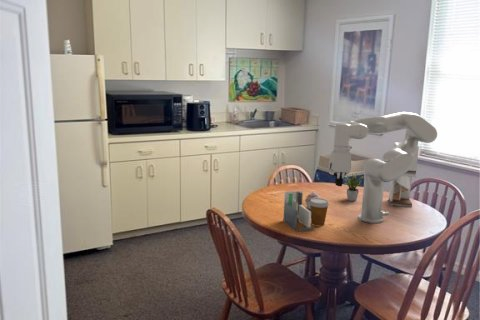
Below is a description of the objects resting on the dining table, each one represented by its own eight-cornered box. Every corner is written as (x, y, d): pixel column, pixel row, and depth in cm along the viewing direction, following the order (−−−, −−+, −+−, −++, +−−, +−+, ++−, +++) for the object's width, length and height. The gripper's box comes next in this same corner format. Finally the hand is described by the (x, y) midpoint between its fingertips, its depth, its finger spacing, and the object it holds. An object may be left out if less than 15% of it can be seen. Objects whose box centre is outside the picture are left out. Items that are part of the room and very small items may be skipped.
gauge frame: (300, 219, 207) (302, 190, 204) (314, 230, 193) (316, 199, 190) (282, 220, 205) (284, 191, 202) (295, 231, 190) (297, 201, 187)
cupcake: (309, 204, 231) (310, 187, 229) (324, 208, 225) (325, 191, 223) (300, 208, 224) (301, 191, 222) (315, 212, 218) (317, 194, 216)
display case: (390, 205, 234) (397, 145, 227) (388, 199, 244) (394, 142, 237) (411, 207, 231) (418, 146, 224) (408, 201, 241) (415, 143, 234)
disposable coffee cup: (331, 223, 202) (332, 200, 199) (320, 228, 195) (322, 204, 192) (314, 219, 208) (316, 196, 206) (304, 223, 201) (305, 200, 199)
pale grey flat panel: (299, 218, 206) (300, 192, 203) (310, 228, 194) (312, 199, 191) (297, 219, 206) (298, 192, 203) (308, 228, 193) (310, 200, 191)
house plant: (368, 204, 234) (371, 176, 231) (344, 203, 234) (346, 176, 231) (361, 197, 248) (364, 171, 245) (339, 196, 248) (341, 170, 245)
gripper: (351, 147, 202) (348, 182, 206) (323, 147, 198) (321, 184, 202) (359, 149, 195) (356, 186, 199) (331, 150, 191) (328, 188, 195)
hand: (338, 185), depth 200 cm, fingers closed
